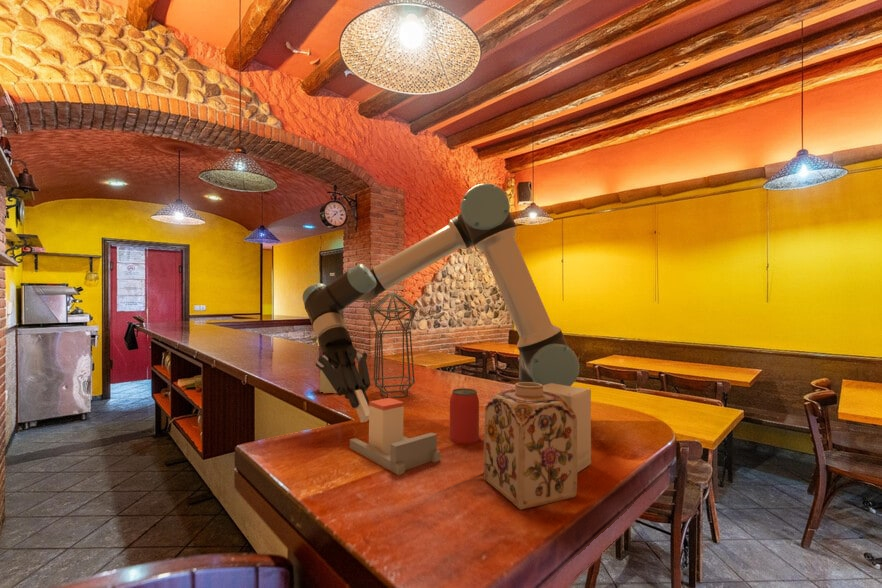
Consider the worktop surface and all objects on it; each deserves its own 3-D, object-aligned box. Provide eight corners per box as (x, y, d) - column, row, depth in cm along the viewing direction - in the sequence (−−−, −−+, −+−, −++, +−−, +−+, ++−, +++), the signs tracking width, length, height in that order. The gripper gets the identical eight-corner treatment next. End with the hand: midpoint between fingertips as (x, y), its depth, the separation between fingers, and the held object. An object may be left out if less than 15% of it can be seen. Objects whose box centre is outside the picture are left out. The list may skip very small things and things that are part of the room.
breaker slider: (368, 449, 80) (369, 401, 81) (388, 443, 84) (389, 397, 84) (382, 456, 77) (383, 406, 77) (403, 450, 80) (403, 402, 80)
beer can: (477, 451, 84) (477, 395, 84) (446, 448, 85) (447, 393, 86) (480, 440, 91) (480, 388, 91) (452, 438, 92) (452, 387, 92)
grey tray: (343, 455, 81) (343, 425, 81) (391, 442, 89) (391, 414, 89) (401, 490, 66) (402, 453, 66) (453, 470, 74) (453, 437, 74)
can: (314, 393, 136) (315, 358, 136) (326, 387, 145) (327, 354, 145) (339, 394, 134) (340, 359, 135) (350, 388, 143) (350, 355, 144)
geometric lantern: (420, 399, 129) (419, 292, 129) (372, 403, 125) (371, 293, 125) (411, 388, 144) (410, 292, 144) (368, 391, 140) (367, 293, 140)
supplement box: (592, 464, 78) (593, 388, 78) (571, 478, 72) (572, 396, 72) (551, 451, 84) (551, 381, 85) (528, 463, 78) (529, 388, 78)
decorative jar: (519, 512, 60) (520, 393, 60) (481, 480, 71) (482, 379, 71) (580, 497, 65) (580, 387, 65) (536, 469, 75) (536, 375, 76)
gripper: (350, 343, 104) (384, 422, 91) (302, 346, 95) (332, 434, 83) (361, 324, 100) (398, 404, 88) (312, 326, 91) (345, 414, 79)
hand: (366, 418), depth 85 cm, fingers closed
